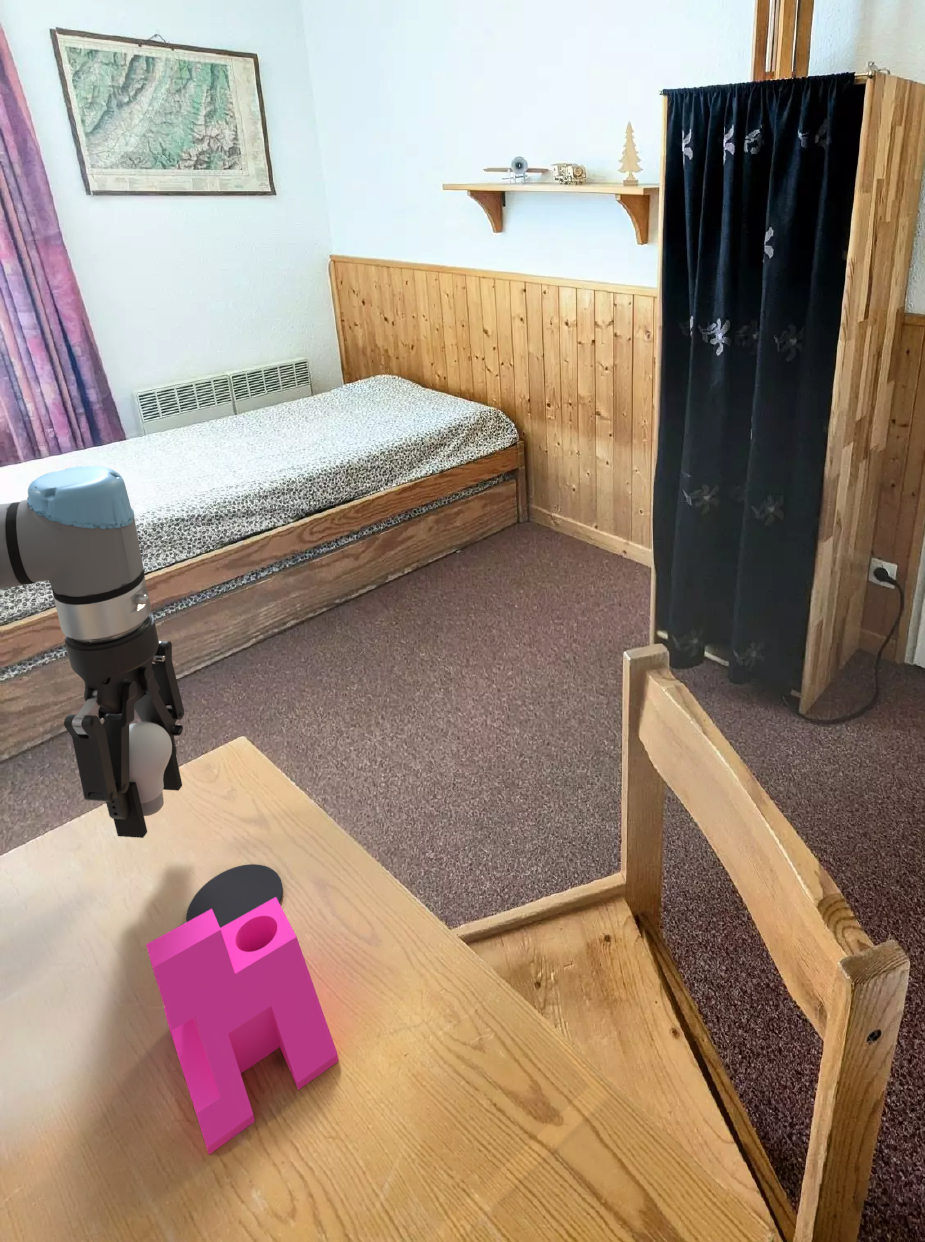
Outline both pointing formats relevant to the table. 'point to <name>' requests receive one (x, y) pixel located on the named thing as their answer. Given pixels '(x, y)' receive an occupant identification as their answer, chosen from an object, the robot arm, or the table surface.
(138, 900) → the table surface
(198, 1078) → the bracket
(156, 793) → the lightbulb
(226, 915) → the coaster
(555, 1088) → the table surface
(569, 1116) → the table surface
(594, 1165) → the table surface
